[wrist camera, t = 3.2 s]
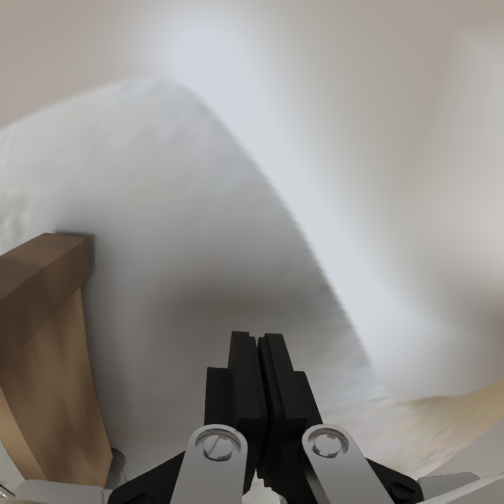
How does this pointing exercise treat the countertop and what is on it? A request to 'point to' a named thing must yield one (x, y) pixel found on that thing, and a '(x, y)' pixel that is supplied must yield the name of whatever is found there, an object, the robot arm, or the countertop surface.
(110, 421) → the countertop surface
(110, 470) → the hinge post
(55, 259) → the gate
